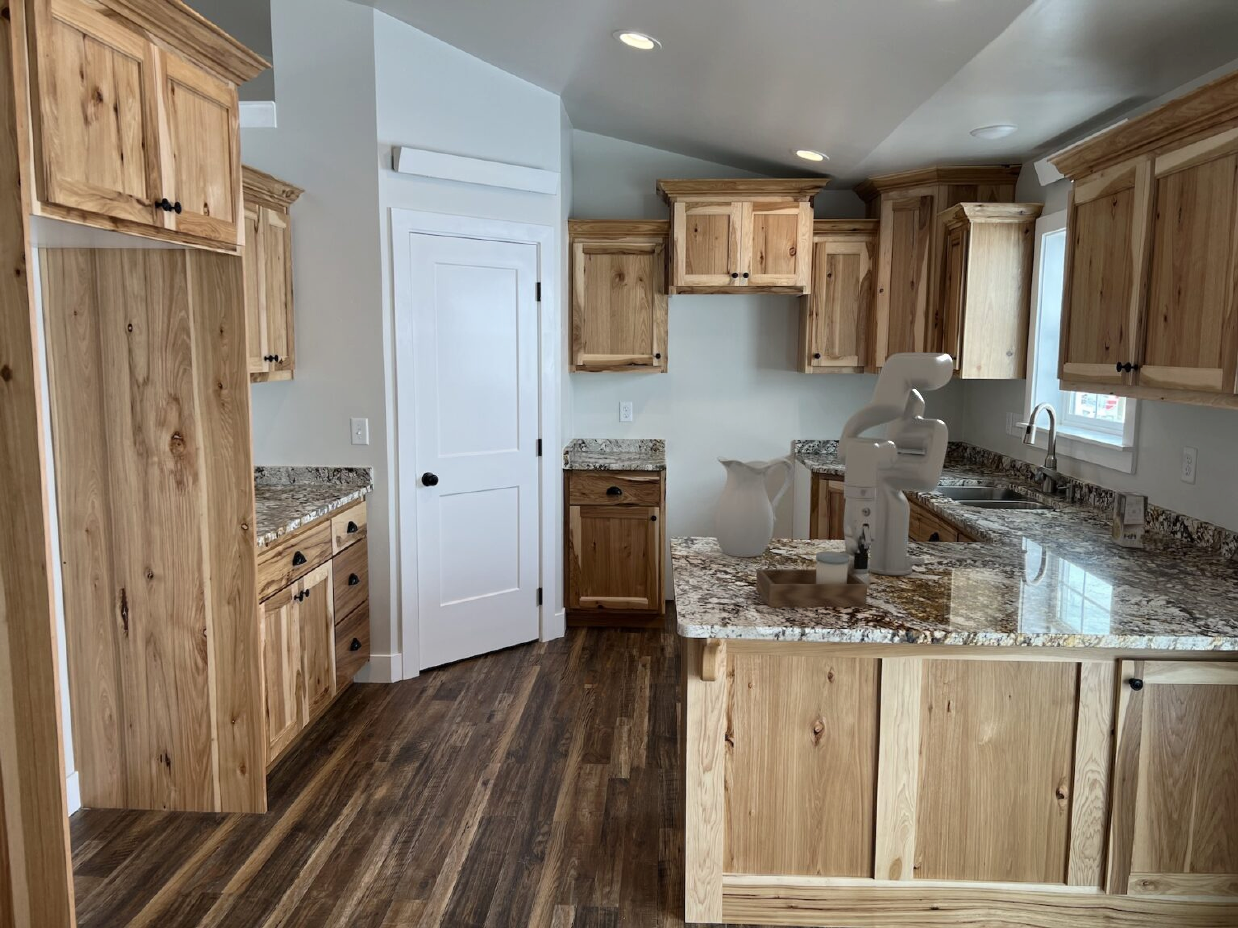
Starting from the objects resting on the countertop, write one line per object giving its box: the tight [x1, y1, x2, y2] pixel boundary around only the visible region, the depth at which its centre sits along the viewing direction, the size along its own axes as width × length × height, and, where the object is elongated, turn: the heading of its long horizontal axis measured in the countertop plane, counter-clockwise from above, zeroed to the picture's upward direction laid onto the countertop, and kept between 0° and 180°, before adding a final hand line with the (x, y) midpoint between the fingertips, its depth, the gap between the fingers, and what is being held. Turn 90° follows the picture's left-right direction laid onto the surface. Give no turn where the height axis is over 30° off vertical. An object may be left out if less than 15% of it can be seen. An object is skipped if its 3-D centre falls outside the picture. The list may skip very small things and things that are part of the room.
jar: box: [815, 550, 849, 584], centre depth 196 cm, size 7×7×10 cm
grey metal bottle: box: [843, 511, 870, 589], centre depth 205 cm, size 6×7×20 cm
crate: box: [755, 568, 868, 608], centre depth 196 cm, size 22×14×6 cm, turn 94°
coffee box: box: [1110, 491, 1149, 549], centre depth 263 cm, size 9×6×16 cm
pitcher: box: [713, 456, 795, 558], centre depth 243 cm, size 24×17×28 cm
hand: (856, 565), depth 205 cm, fingers closed on grey metal bottle, 5 cm apart
